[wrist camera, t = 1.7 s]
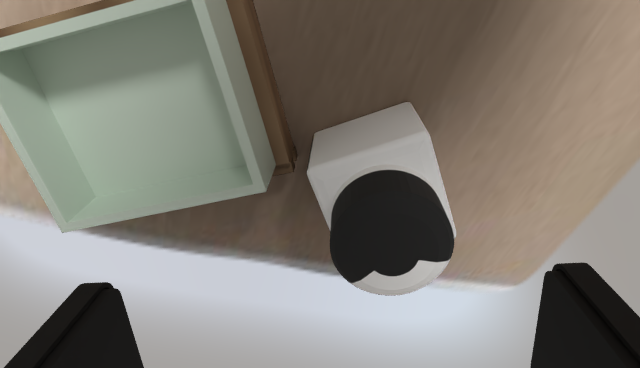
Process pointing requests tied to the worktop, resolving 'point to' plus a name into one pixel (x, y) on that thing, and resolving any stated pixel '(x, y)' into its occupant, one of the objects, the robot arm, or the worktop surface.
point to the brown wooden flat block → (254, 61)
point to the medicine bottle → (383, 201)
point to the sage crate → (134, 111)
